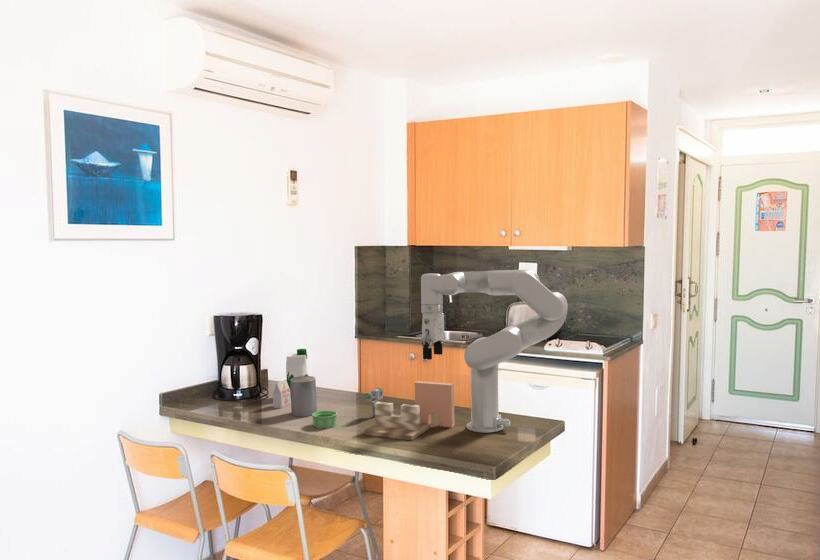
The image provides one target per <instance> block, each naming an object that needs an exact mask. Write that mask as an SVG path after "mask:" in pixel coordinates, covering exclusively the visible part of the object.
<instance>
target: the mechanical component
mask: <svg viewBox="0 0 820 560" xmlns="http://www.w3.org/2000/svg"><path fill="white" fill-rule="evenodd" d="M364 397H365V402H366V403H371V406H372V417H373V418H375V403H376V402H379V401H380V400H383V398H384V388H383V387H382V388H381V387H376V388H373V389H370V392H366V393H365V396H364Z"/></svg>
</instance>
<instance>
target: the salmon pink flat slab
mask: <svg viewBox="0 0 820 560" xmlns="http://www.w3.org/2000/svg"><path fill="white" fill-rule="evenodd" d="M414 405H420V423H426V424H430V425H431V424H432V415H438V426H439V427H442V426H443V427H444V428H445V427H446V428H454V427H455V425H456V424H455V419H456V418H455V384H454V383H449V382H435V381H424V380H423V381H421V380H417V381H415V382H414Z"/></svg>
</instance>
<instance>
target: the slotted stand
mask: <svg viewBox="0 0 820 560" xmlns="http://www.w3.org/2000/svg"><path fill="white" fill-rule="evenodd" d="M394 412H395V411H394V402H386V401H385V402H384V401H378V402H376V403H375V417H374V424H373V425H371V426H370V427H368V428H366V429H365V430H364V431H363V433H364V436H370V435H371V436H372V437H379V436H380V437H381V438H387V437H388V438H389V439H396V438H397V440H398V439H399V440H404V441H405V440H406V441H407V440H408V441H413V440H415V439H416V438H418V437H419V436H422V435H423V434H424V433H425V432H426V431H428V430H429V429H430V428H431V424H426V423H420V405H415V404H408V403H407V404H406V403H403V404H402V405H400V414H395V413H394Z"/></svg>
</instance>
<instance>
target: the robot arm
mask: <svg viewBox="0 0 820 560" xmlns="http://www.w3.org/2000/svg"><path fill="white" fill-rule="evenodd" d="M536 272H537V271H534V270H532V269H510V270H509V269H508V270H507V269H504V270H503V269H499V270H485V271H484V270H482V271H479V270H478V271H477V270H476V271H454V272H450V273H445V274H440V273H435V272H434V273H423V274H422V275H421V276H420V296H421V297H420V299H421V300H420V303H421V306H420V307H421V309H420V311H421V314H422V319H421V321H422V323H421V336H420V338H421V345H422V346H421V347H422V359H423V360H432V359H433V355H438V356H439V355H443V342H444V340H443V339H444V338H445V323H444V314H443V313H444V306H443V305H444V303H443V302H444V300H443V299H444V298H443V295H445V296H455V295H457V294H460V293H484V294H487V295H490V296H517V297H518V298H519V299H520V301H522V302H523V303H524V304H525V305H526V306H528V307H529V308H530V309H531V310H532V311H533V312H534V313H536V315H534V316H532V317H530V318H527V319H525V320H524V321H521V322H519V323H516V324H514V325H511V326H507V327H504V328H503V329H501V330H499V331H498V332H496V333H494V334H491V335H489V336H481V337H479V338H477V339H475V340H474V341H473V342H470V344H469V345H468V346H467V347H466V348H465V350H464V354H463V355H464V356H463V358H464V359H463V360H464V362H465V364H466V366H468V368H470V419H471V420H470V422H468V423H466V428H467V430H469V431H472V432H475V433H482V434H484V433H485V434H487V433H488V434H489V433H496V432H499V431H502V430H503V429H504V427H510V426H511V420H510V419H509V418H503V417H502V414H501V413H500V414H499V365H500V364H502V363H504V362H506V361H509V360H511V359H512V358H515V357H517V356H518V355H519V354H520V353H521V352H522V351H523V350H525V349H526V348H528V347H532V346H533V345H536V344H538V343H541V342H542V341H544V340H547V339H548V338H550V337H552V336H553V335H555V334H556V333H557V332H558V331H559V330H560V329H561V328H562V327H563V325H564V323H565V321H566V319H567V314H568V311H569V310H568V309H569V306H568V305H569V303H568V301H567V298H566V297H565V295H563V294H562V293H561V292H558V291H551V290H550V289H549V288H547V287H546V286H545V285H544V284H543V283H542V282H541V280H540V276H539V275H538V273H536ZM432 343H433V348H432Z"/></svg>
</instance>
